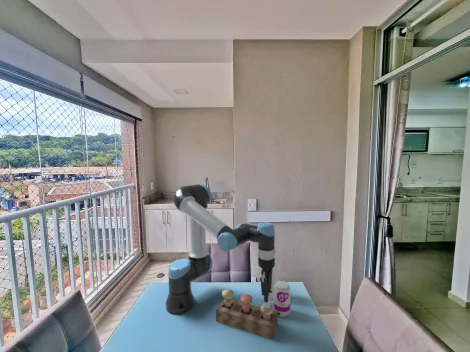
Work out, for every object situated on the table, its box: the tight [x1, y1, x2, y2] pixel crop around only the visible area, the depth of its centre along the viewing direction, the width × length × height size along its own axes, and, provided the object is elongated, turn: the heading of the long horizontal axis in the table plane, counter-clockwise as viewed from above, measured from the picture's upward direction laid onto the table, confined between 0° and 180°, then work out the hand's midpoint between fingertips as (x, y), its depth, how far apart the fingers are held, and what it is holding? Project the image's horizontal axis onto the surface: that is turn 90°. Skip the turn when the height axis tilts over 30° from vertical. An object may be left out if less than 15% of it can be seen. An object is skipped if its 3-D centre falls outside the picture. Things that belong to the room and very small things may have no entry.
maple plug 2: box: [260, 303, 274, 321], centre depth 101 cm, size 6×6×7 cm
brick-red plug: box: [240, 293, 253, 314], centre depth 105 cm, size 6×6×7 cm
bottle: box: [270, 244, 280, 301], centre depth 125 cm, size 8×8×30 cm
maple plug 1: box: [221, 289, 234, 309], centre depth 109 cm, size 6×6×7 cm
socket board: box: [215, 298, 279, 340], centre depth 105 cm, size 28×10×6 cm, turn 66°
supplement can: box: [273, 280, 291, 318], centre depth 112 cm, size 8×8×15 cm
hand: (266, 307), depth 100 cm, fingers closed
